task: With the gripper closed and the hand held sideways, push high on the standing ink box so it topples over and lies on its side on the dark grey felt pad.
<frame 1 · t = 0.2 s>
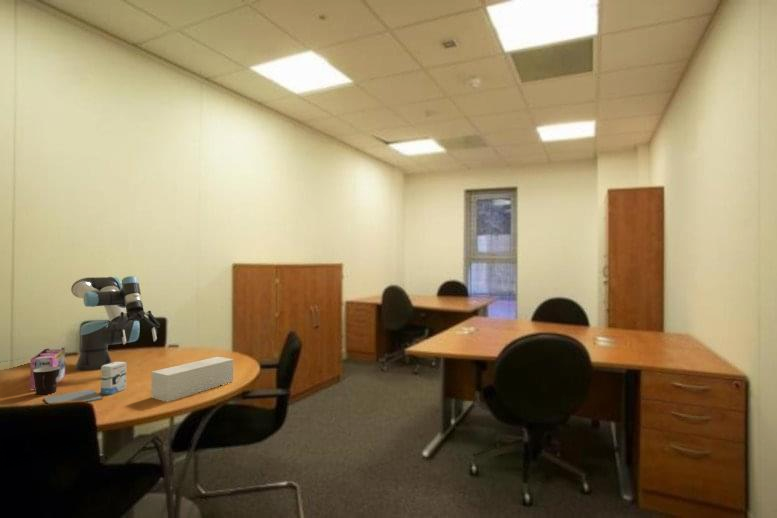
hand: (140, 341, 209), 15 cm above the table, tool tilted 35°, fingers open, 13 cm apart
gum box: (48, 383, 191), on the table
ink box: (113, 392, 179), on the table
felt pad: (73, 399, 168), on the table
long white block: (194, 390, 183), on the table
coffee mug: (43, 394, 174), on the table
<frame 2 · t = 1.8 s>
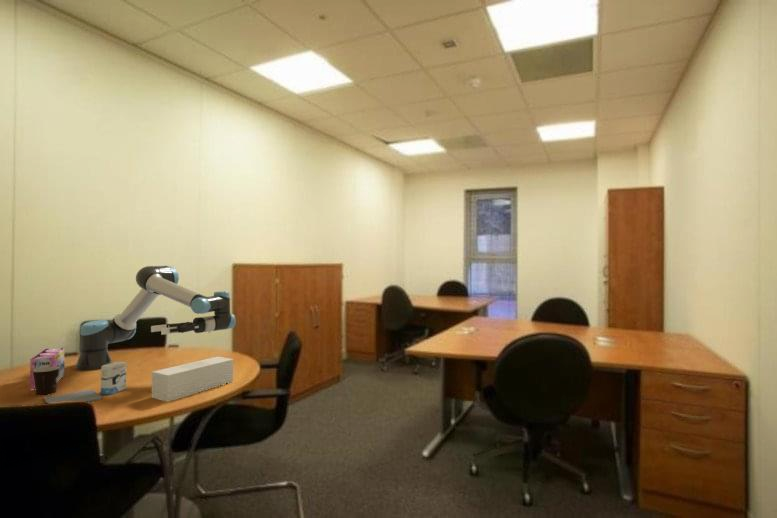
hand: (156, 330, 191), 24 cm above the table, tool horizontal, fingers open, 13 cm apart
nothing on the table moved.
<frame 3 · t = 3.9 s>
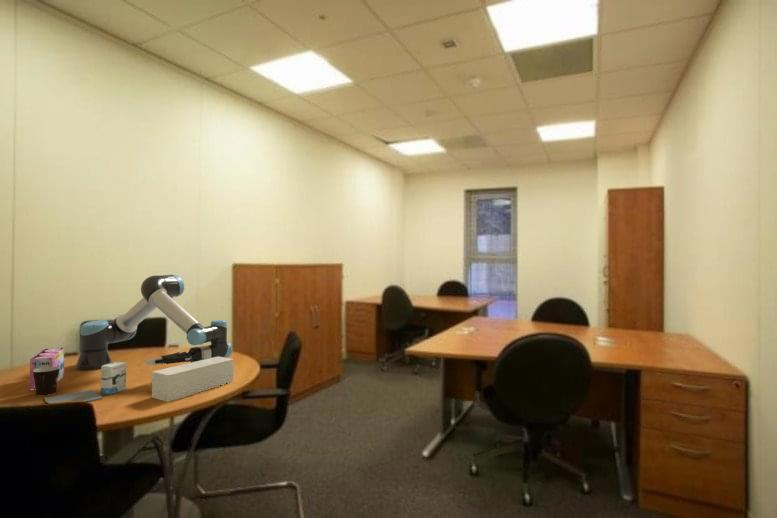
hand: (146, 362, 188), 10 cm above the table, tool horizontal, fingers closed
nothing on the table moved.
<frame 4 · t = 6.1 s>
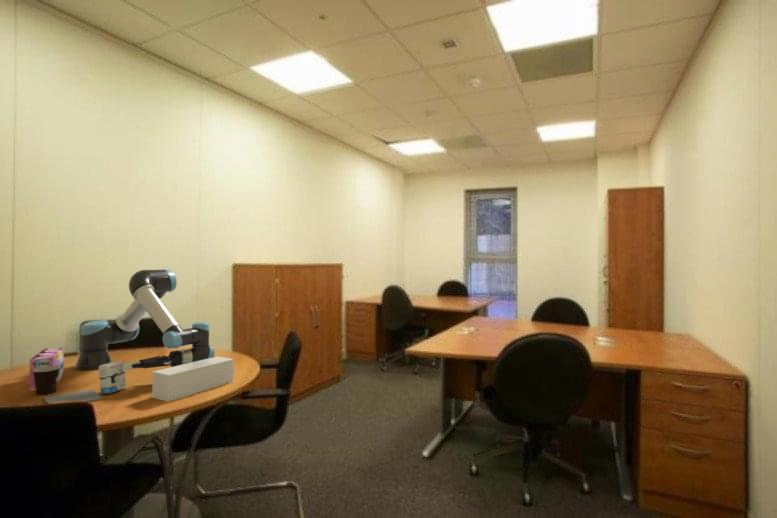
hand: (122, 367, 180), 10 cm above the table, tool horizontal, fingers closed
ink box: (113, 391, 179), on the table, touching gripper
everything else where it was.
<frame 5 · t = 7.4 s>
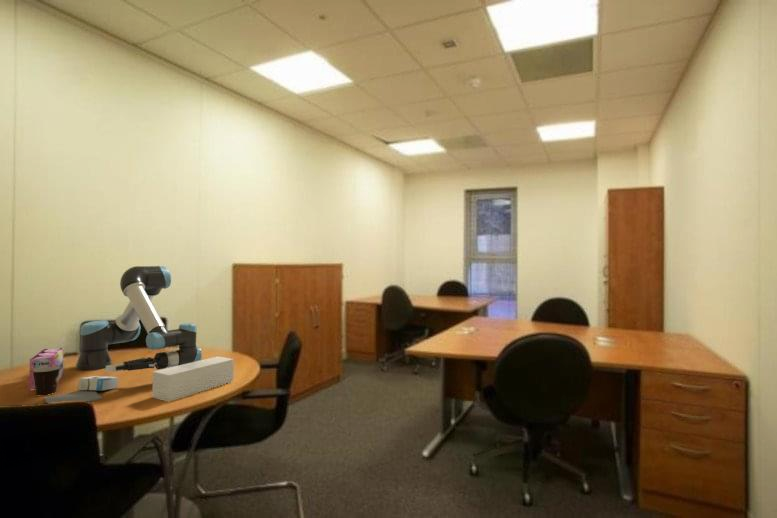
hand: (106, 369, 176), 10 cm above the table, tool horizontal, fingers closed
ink box: (110, 383, 180), point 3 cm above the table, touching felt pad
everything else where it was.
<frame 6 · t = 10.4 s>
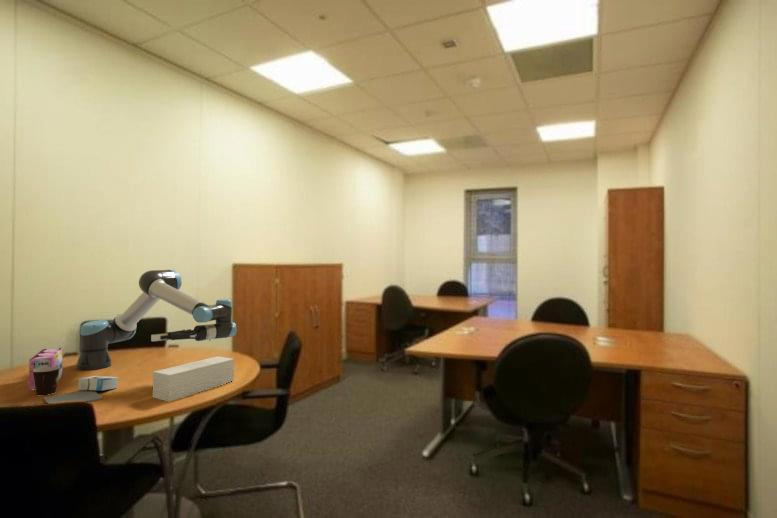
hand: (151, 338, 189), 21 cm above the table, tool horizontal, fingers closed
nothing on the table moved.
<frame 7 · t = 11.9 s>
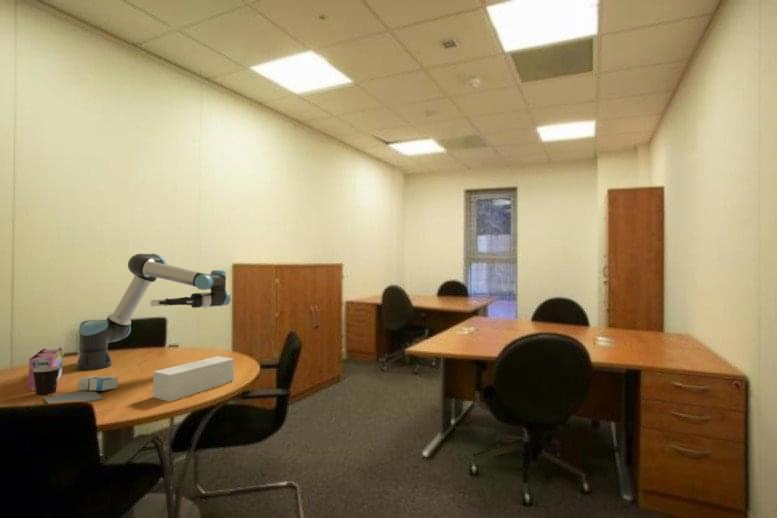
hand: (151, 303, 204), 35 cm above the table, tool horizontal, fingers closed
nothing on the table moved.
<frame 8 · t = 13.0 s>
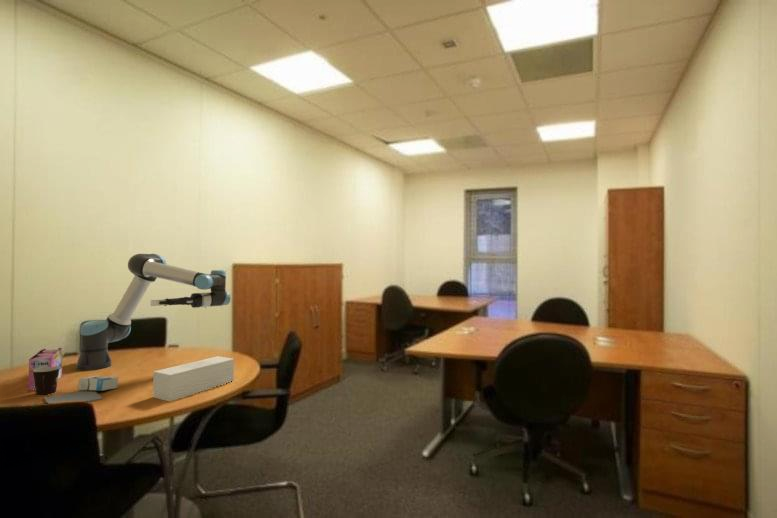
hand: (151, 303, 204), 35 cm above the table, tool horizontal, fingers closed
nothing on the table moved.
at the end: ink box tilted 90°; ink box touching felt pad, table; ink box inside the target area (9.3 cm from its centre), point 2.9 cm above the table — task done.
